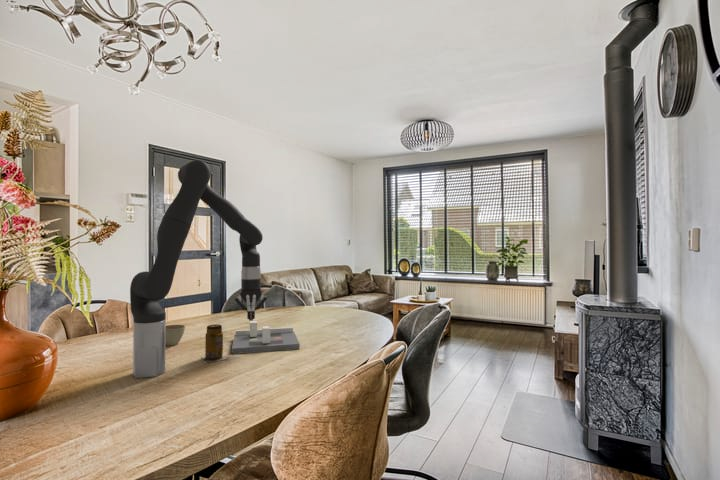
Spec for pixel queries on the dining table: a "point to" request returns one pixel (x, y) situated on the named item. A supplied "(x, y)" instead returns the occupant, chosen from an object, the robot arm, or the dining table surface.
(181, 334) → the flower pot
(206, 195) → the robot arm
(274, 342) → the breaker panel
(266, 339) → the block
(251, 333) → the breaker
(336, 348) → the dining table surface
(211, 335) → the condiment
